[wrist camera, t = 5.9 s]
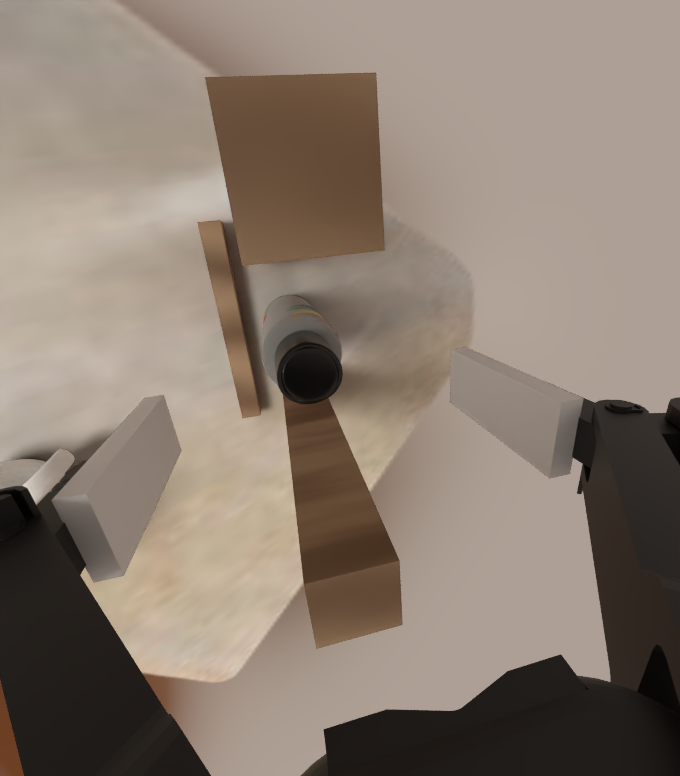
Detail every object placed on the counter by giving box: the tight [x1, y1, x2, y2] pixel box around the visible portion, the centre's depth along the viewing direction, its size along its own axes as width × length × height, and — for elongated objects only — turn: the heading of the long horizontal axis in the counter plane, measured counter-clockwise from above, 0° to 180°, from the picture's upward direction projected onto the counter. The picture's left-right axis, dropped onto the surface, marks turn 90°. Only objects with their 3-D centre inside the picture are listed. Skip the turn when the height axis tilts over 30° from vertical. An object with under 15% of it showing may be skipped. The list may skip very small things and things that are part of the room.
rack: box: [198, 73, 402, 648], centre depth 24 cm, size 20×9×28 cm, turn 6°
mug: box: [0, 449, 75, 505], centre depth 32 cm, size 15×11×13 cm
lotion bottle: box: [261, 295, 343, 404], centre depth 28 cm, size 6×6×20 cm
